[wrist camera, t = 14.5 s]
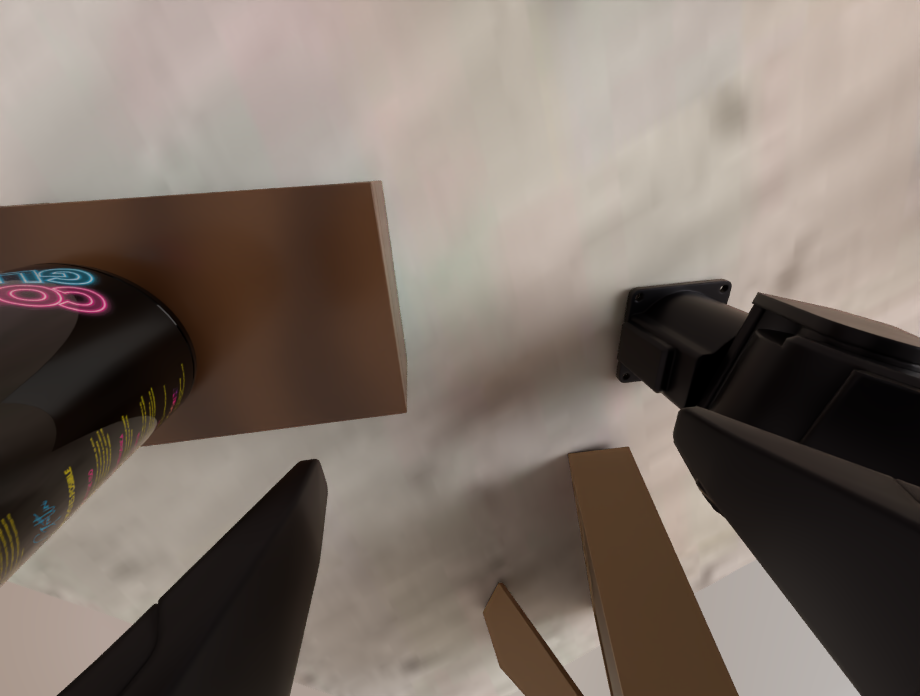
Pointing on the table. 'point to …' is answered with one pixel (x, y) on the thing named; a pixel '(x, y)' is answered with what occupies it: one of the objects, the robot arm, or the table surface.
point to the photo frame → (619, 598)
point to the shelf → (249, 295)
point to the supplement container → (77, 391)
